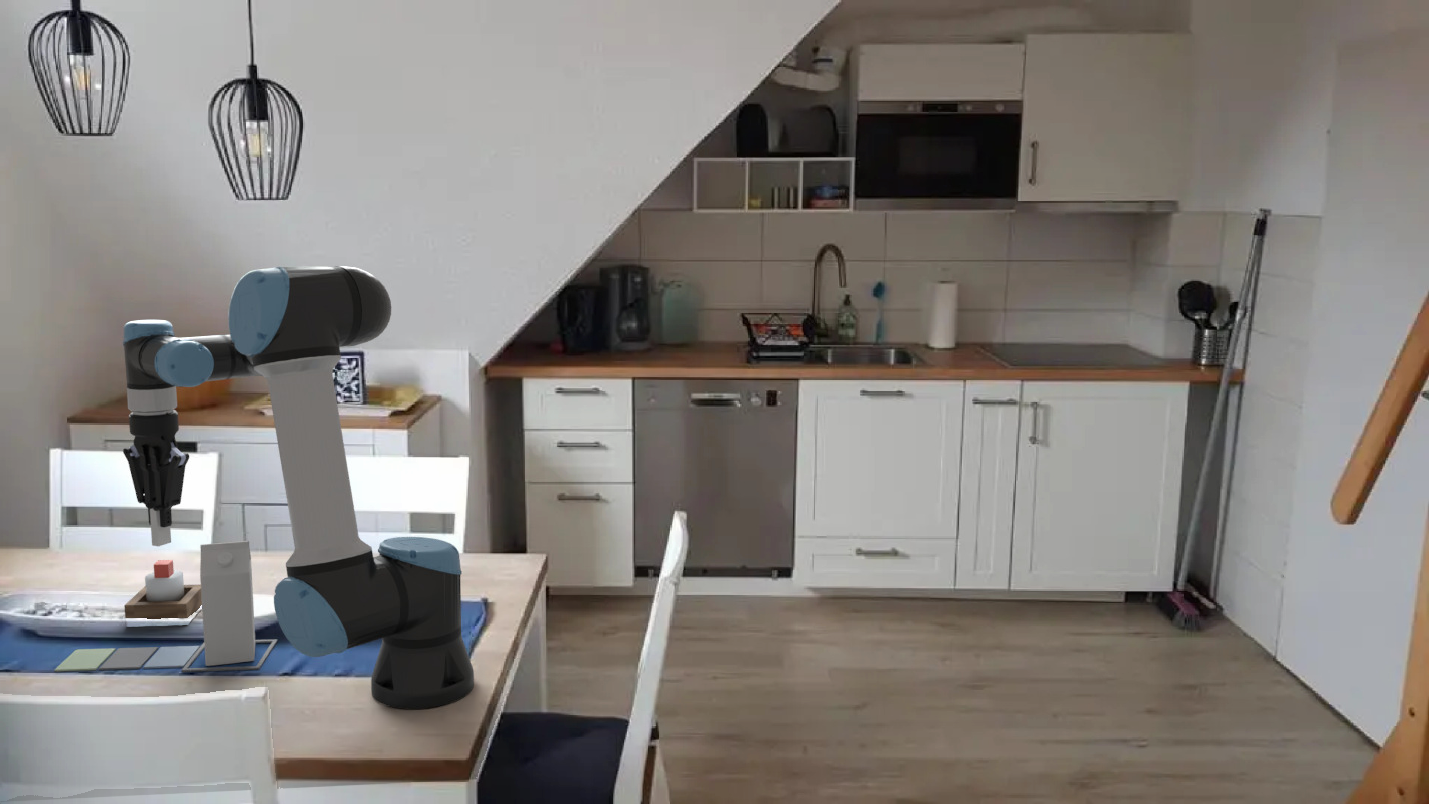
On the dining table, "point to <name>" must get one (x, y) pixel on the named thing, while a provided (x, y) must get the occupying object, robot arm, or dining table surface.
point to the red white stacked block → (164, 583)
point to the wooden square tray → (164, 605)
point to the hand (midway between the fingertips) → (161, 543)
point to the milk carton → (227, 603)
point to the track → (146, 658)
